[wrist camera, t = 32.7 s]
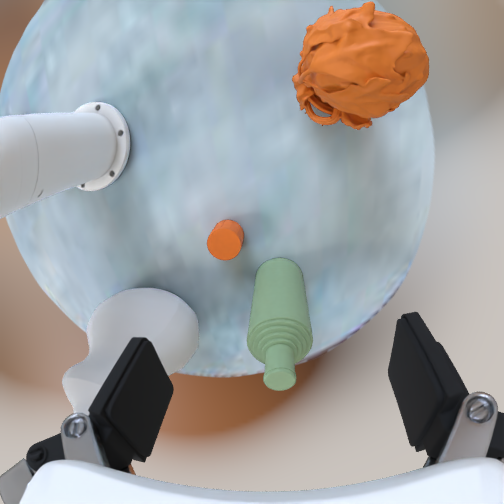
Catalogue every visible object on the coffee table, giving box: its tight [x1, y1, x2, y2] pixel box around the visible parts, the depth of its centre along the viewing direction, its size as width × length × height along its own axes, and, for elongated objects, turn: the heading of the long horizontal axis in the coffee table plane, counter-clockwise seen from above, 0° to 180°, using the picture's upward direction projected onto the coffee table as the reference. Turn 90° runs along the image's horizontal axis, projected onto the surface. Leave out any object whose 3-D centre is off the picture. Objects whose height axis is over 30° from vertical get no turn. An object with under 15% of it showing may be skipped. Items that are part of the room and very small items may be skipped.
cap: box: [207, 220, 244, 260], centre depth 35 cm, size 4×4×4 cm
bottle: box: [247, 258, 313, 390], centre depth 30 cm, size 6×6×18 cm
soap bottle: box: [62, 288, 199, 416], centre depth 28 cm, size 17×12×29 cm
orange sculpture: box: [292, 2, 429, 130], centre depth 19 cm, size 11×11×18 cm
